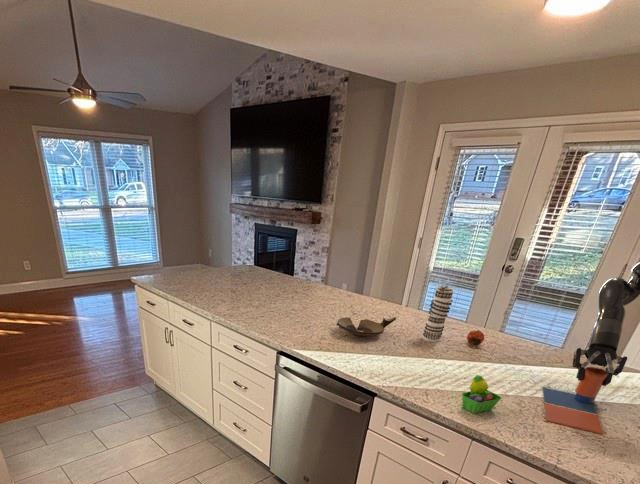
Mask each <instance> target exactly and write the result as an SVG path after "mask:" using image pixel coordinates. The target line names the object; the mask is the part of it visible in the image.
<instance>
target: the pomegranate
mask: <svg viewBox="0 0 640 484" xmlns="http://www.w3.org/2000/svg"><path fill="white" fill-rule="evenodd" d="M484 340H485V333H484V332H482V331H481V330H480V329H477V330H471V331H469V333H467V336H466V341H467V343H468V344H470V345H471V346H470V347H472V346H473V345H475V346H479V345H481V344H482V343H483V342H484Z"/></svg>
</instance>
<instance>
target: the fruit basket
mask: <svg viewBox="0 0 640 484" xmlns="http://www.w3.org/2000/svg"><path fill="white" fill-rule="evenodd" d="M469 390H470V391H466V392H462V393H461V397H462V402H461V403H462V408H463V409H465V410H466V411H468V412H470V413H472V414H478V413H482V412H486V411H491V410H493V409H494V408H495V406H496V405H497V404H498V403H499V402H500V400H501V399H502V397H501V396H500V395H498V394H496V393H494V392H492V391H490V390H489V385H488V383H487V381H486V380H485V378H484V377H483V376H482V375H479V374H476V375H475V376H473V377H472V381H471V383H470V385H469Z"/></svg>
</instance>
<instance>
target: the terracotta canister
mask: <svg viewBox="0 0 640 484" xmlns="http://www.w3.org/2000/svg"><path fill="white" fill-rule="evenodd" d="M585 368H586V369H585V372H584V376H583V379H582V380H581V381H579V380H578V383H577V385H576V387H575V390H574V392H575V394H576V393H578V394H579V395H582V396H585V397H596V398H597V396H598V395H597V394H599V393H600V391H601V389H602V387H603V386H602V385H603V383H604V381H605V379H606V377H607V376H608V374H609V373H608V372H607V371H605V370H604V369H603V368H599V367H595V366H586V367H585ZM600 388H601V389H600ZM599 390H600V391H599ZM598 392H599V393H598Z"/></svg>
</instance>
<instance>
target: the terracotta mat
mask: <svg viewBox="0 0 640 484" xmlns="http://www.w3.org/2000/svg"><path fill="white" fill-rule="evenodd" d="M544 410H545V421H546V422H548V423H552V424H557V425H559V426H560V425H561V426H565V427H568V428H573V429H578V430H582V431H585V432H588V433H593V434H598V435H600V436H601V435H602V436H603V435H604V432H603V429H602V426H601V423H600V420H599V417H598V414H595V413H590V412H586V411H582V410H577V409H573V408H569V407H564V406H560V405H555V404H551V403H547V402H544Z"/></svg>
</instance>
